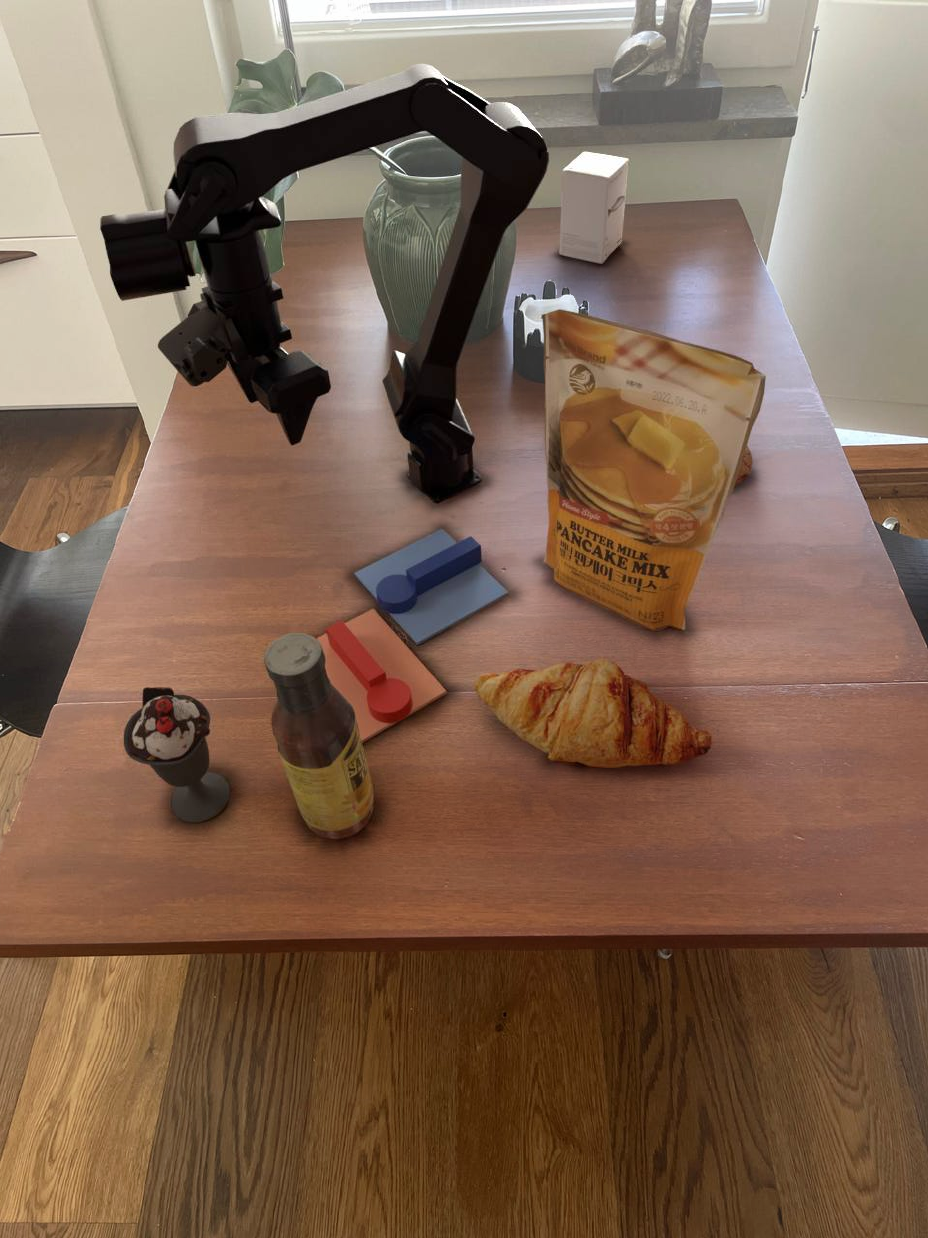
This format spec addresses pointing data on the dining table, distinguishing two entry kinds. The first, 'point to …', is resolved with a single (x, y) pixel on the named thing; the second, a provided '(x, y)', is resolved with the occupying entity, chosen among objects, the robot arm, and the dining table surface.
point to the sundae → (177, 751)
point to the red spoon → (371, 676)
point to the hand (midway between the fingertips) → (274, 421)
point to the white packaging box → (592, 206)
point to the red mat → (392, 661)
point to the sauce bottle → (318, 740)
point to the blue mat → (435, 589)
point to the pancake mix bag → (639, 460)
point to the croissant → (591, 715)
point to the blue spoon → (426, 576)
